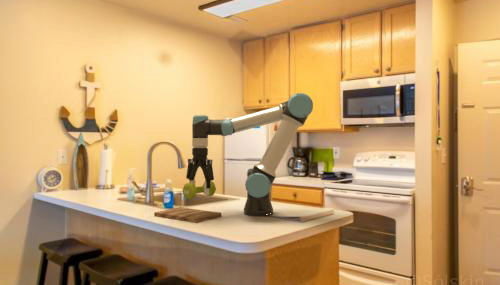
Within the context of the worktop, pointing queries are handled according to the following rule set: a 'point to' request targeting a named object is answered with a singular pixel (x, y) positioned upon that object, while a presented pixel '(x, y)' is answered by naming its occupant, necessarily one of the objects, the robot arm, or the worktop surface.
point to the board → (188, 214)
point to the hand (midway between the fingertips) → (199, 194)
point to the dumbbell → (197, 190)
